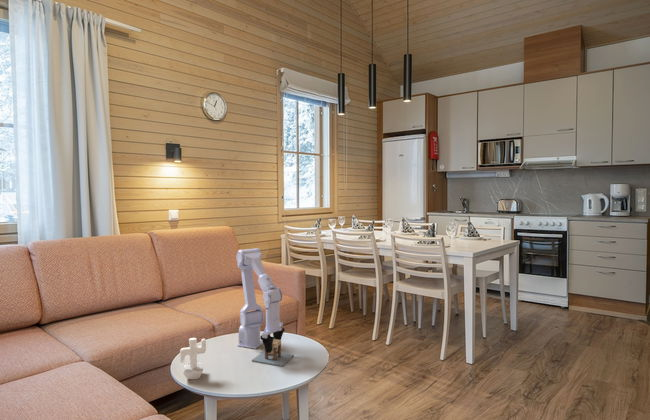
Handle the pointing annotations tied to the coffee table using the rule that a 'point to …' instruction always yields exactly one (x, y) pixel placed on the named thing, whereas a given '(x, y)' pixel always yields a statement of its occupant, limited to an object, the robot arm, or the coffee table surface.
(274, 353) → the stool
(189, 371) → the figurine
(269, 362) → the slate mat
